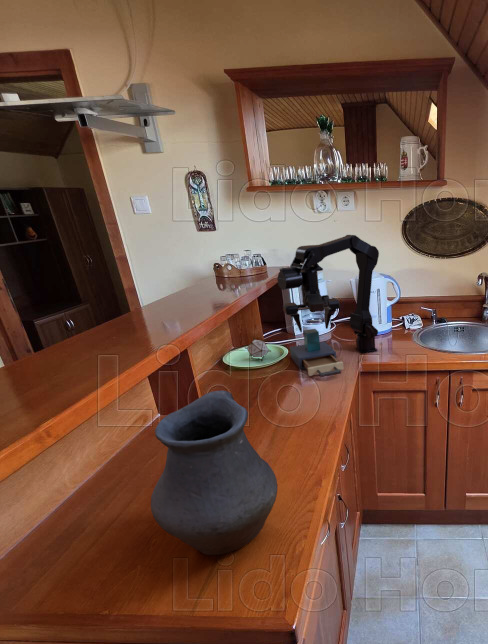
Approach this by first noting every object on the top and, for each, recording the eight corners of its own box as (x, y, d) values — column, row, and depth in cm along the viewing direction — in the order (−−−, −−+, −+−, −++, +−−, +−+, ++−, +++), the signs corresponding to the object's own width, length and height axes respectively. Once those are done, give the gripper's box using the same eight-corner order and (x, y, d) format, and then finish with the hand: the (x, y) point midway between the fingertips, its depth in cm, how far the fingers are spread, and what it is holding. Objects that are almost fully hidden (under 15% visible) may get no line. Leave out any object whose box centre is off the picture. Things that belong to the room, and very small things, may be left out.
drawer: (348, 374, 142) (348, 367, 141) (313, 381, 137) (312, 373, 136) (332, 358, 156) (331, 351, 155) (299, 364, 151) (298, 357, 150)
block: (316, 346, 158) (315, 328, 155) (320, 350, 154) (318, 331, 151) (305, 348, 156) (303, 330, 153) (308, 352, 153) (306, 333, 150)
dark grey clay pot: (143, 583, 67) (96, 451, 57) (193, 495, 87) (164, 385, 77) (273, 575, 68) (249, 443, 58) (292, 489, 88) (277, 380, 77)
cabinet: (336, 363, 154) (335, 351, 152) (300, 369, 149) (299, 358, 147) (325, 351, 165) (324, 341, 164) (291, 357, 160) (289, 346, 158)
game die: (266, 367, 162) (279, 347, 159) (250, 367, 154) (264, 345, 151) (251, 352, 164) (264, 332, 162) (236, 352, 157) (249, 330, 154)
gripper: (287, 292, 131) (292, 340, 137) (344, 286, 138) (346, 332, 144) (280, 286, 140) (285, 331, 147) (333, 281, 147) (336, 324, 153)
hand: (314, 330), depth 147 cm, fingers open, 9 cm apart
